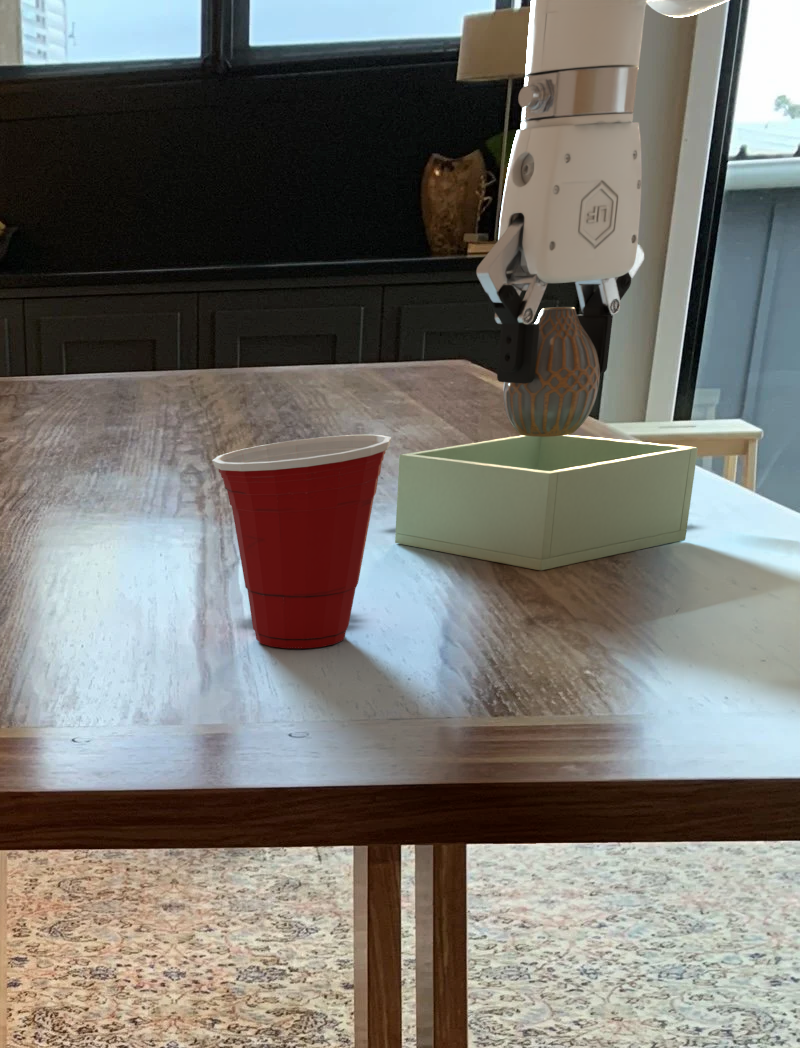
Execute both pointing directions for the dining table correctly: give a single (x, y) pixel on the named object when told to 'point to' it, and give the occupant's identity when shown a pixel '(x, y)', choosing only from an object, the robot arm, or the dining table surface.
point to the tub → (544, 498)
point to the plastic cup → (302, 531)
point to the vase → (556, 379)
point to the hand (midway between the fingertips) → (552, 375)
